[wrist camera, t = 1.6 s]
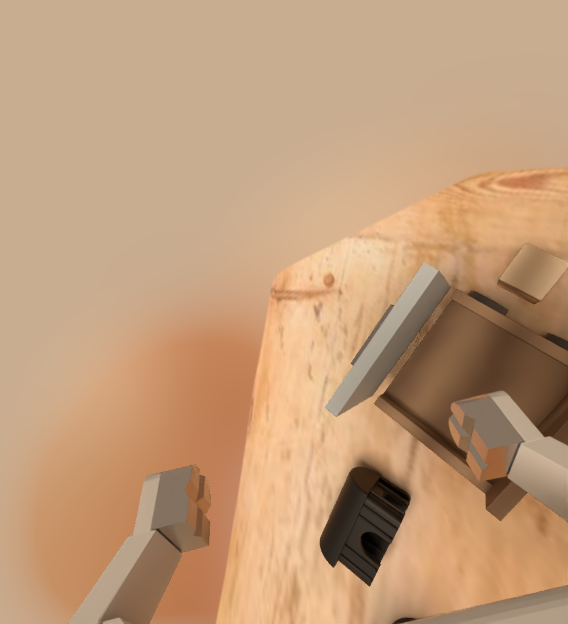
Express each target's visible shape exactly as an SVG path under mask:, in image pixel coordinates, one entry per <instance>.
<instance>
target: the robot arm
mask: <svg viewBox="0 0 568 624" xmlns="http://www.w3.org/2000/svg"><path fill="white" fill-rule="evenodd" d="M451 411H452V412H453V415H452V416H451V417H450V418H449V428H450V432H451V435H452V437H453V439H454V441H455V443H456V444H457V446H458V448H460V449H462V450H463V451H465V452H467V459H466V461H467V463H468V465H469V466H470V468H471V470H472V471H473V473H474V475H475V476H476V478H477V480H478V481H479V482H481V481H486V480H491V479H495V478H500V477H505V476H508V477H507V478H509V479H510V480H511V481H513V482H514V483H515V484H517V485H518V486H519V487H521V488H522V489H524V490H525V491H526V492H528V493H529V494H530V495H532V496H533V497H534V498H536V499H537V500H539V501H540V502H541V503H543V504H544V505H545V506H547V507H548V508H549V509H551V510H552V511H554V512H555V513H556V514H558V515H559V516H560V517H562V518H563V519H564V520H566V521H567V522H568V446H567V445H566V444H564V443H562V442H560V441H558V440H556V439H554V438H552V437H550V436H548V437H544V436H543V435H542V434H541V433H540V431H539V430H538V429H537V428H536V427H535V425H534V424H533V423H532V422H531V421H530V420H529V418H528V417H527V416H526V415H525V414H524V413H523V411H522V410H521V409H520V408H519V407H518V405H517V404H516V403H515V402H514V401H513V400H512V398H511V397H510V396H509V395H508V394H507V393H506V392H504V391H496V392H492V393H488V394H483V395H479V396H475V397H472V398H468V399H464V400H460V401H456V402H453V403H452V404H451ZM210 506H211V494H210V486H209V483H208V481H207V479H206V477H205V476H202V475H200V469H199V468H198V467H197V465H196V464H195V465H190V466H186V467H182V468H178V469H174V470H170V471H165V472H160V473H156V474H152V475H148V476H147V477H146V479H145V481H144V483H143V489H142V493H141V498H140V503H139V508H138V513H137V518H136V523H135V528H134V533H133V535H131V536H128V537H127V539H126V540H125V542H124V543H123V545H122V546H121V548H120V549H119V551H118V552H117V553H116V555H115V556H114V558H113V559H112V561H111V562H110V564H109V565H108V566H107V568H106V569H105V571H104V572H103V574H102V575H101V577H100V578H99V580H98V581H97V583H96V584H95V585H94V587H93V588H92V590H91V591H90V593H89V594H88V596H87V597H86V599H85V600H84V601H83V603H82V604H81V606H80V607H79V609H78V610H77V612H76V613H75V615H74V616H73V617H72V619H71V620H70V622H69V623H68V624H149V623H150V621H151V619H152V617H153V615H154V613H155V611H156V608H157V606H158V604H159V602H160V600H161V598H162V596H163V594H164V592H165V590H166V588H167V586H168V584H169V582H170V580H171V577H172V575H173V573H174V571H175V569H176V567H177V565H178V563H179V561H180V559H181V557H182V553H183V552H187V551H190V550H194V549H198V548H201V547H205V546H209V535H210V521H209V519H208V518H207V516H206V513H207V511H208V510H209V508H210ZM401 624H568V585H566V586H562V587H557V588H553V589H549V590H544V591H540V592H536V593H531V594H527V595H523V596H518V597H514V598H509V599H505V600H501V601H496V602H492V603H488V604H483V605H479V606H475V607H470V608H466V609H462V610H457V611H453V612H449V613H444V614H440V615H435V616H431V617H427V618H422V619H418V620H414V621H409V622H405V623H401Z"/></svg>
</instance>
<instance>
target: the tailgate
mask: <svg viewBox="0 0 568 624" xmlns="http://www.w3.org/2000/svg"><path fill="white" fill-rule="evenodd" d="M450 288H451V287H450V285H449V284H448V283H447V281H446V280H445V278H444V277H443V276H442V274H441V273H440V271H439V270H437V269H435V268H434V267H432V266H430V265H428V264H426V263H423V265H422V266H421V268H420V269H419V271H418V272H417V274H416V275H415V276H414V278H413V279H412V281H411V282H410V284H409V285H408V287H407V288H406V290H405V291H404V293H403V294H402V295H401V297H400V298H399V300H398V301H397V303H396V304H395V306H394V305H390V306H389V308H388V309H387V311H386V312H385V314H384V315H383V317H382V318H381V320H380V321H379V323H378V324H377V326H376V327H375V328H374V330H373V331H372V333H371V334H370V336H369V337H368V339H367V340H366V342H365V343H364V345H363V346H362V348H361V349H360V351H359V352H358V353H357V355H356V356H355V358H354V359H353V361H352V362H351V364H352V365H353V367H352V369H351V370H350V371H349V373H348V374H347V376H346V377H345V379H344V380H343V382H342V383H341V385H340V386H339V387H338V389H337V390H336V392H335V393H334V395H333V396H332V398H331V399H330V401H329V402H328V404H327V405H326V406H325V408H326V409H327V410H328V411H330V412H331V413H332V414H333V415H334V416H335V417H337V416H339V415H341V414H342V413H344V412H346V411H347V410H349V409H351V408H352V407H354V406H356V405H357V404H359V403H361V402H363V401H364V400H366V399H368V398H369V397H371V396H373V394H374V393H375V392H376V390H377V389H378V387H379V386H380V385H381V383H382V382H383V381H384V379H385V378H386V376H387V375H388V374H389V372H390V371H391V369H392V368H393V367H394V365H395V364H396V363H397V361H398V360H399V358H400V357H401V356H402V354H403V353H404V351H405V350H406V349H407V347H408V346H409V344H410V343H411V342H412V340H413V339H414V338H415V336H416V335H417V333H418V332H419V331H420V329H421V328H422V326H423V325H424V324H425V322H426V321H427V319H428V318H429V317H430V315H431V314H432V313H433V311H434V310H435V308H436V307H437V306H438V304H439V303H440V301H441V300H442V299H443V297H444V296H445V294H446V293H447V292H448V290H449V289H450Z"/></svg>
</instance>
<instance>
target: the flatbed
mask: <svg viewBox="0 0 568 624" xmlns="http://www.w3.org/2000/svg"><path fill="white" fill-rule="evenodd" d="M451 299H452V301H451V302H450V303H449V305H448V306H447V307H446V309H445V310H444V312H443V313H442V314H441V316H440V317H439V318H438V320H437V321H436V322H435V324H434V325H433V327H432V328H431V329H430V331H429V332H428V333H427V335H426V336H425V338H424V339H423V340H422V342H421V343H420V344H419V346H418V347H417V349H416V350H415V351H414V353H413V354H412V355H411V357H410V358H409V360H408V361H407V362H406V364H405V365H404V366H403V368H402V369H401V371H400V372H399V373H398V375H397V376H396V377H395V379H394V380H393V381H392V383H391V384H390V386H389V387H388V388H387V390H386V391H385V392H384V394H382V395H380V396H379V397H378V399H377V400H376V401H375V403H374V404H375V405H376V406H377V407H378V408H380V409H381V410H382V411H383V412H385V413H386V414H387V415H388V416H390V417H391V418H392V419H393V420H395V421H396V422H397V423H398V424H400V425H401V426H402V427H403V428H404V429H406V430H407V431H408V432H409V433H411V434H412V435H413V436H414V437H416V438H417V439H418V440H419V441H421V442H422V443H423V444H424V445H426V446H427V447H428V448H429V449H430V450H432V451H433V452H434V453H435V454H437V455H438V456H439V457H440V458H442V459H443V460H444V461H445V462H447V463H448V464H449V465H450V466H452V467H453V468H454V469H455V470H456V471H458V472H459V473H460V474H461V475H463V476H464V477H465V478H466V479H468V480H469V481H470V482H471V483H473V484H474V485H475V486H476V487H477V488H479V489H480V490H481V491H482V492H484V493H485V494H486V510H487V511H489V512H490V513H491V514H492V515H494V516H495V517H496V518H497V519H498V520H500V521H501V520H502V519H503V518H504V517H505V516H506V515H507V514H508V513H509V512H510V511H511V510H512V509H513V508H514V506H515V505H516V504H517V503H518V502H519V501H520V500H521V499H522V498H523V497H524V496H525V495H526V494H527V493H528V492H526V491H525V490H524V489H522V488H521V487H519V486H518V485H517V484H515V483H514V482H513V481H511V480H510V479H509V478H507V477H508V476H505V477H500V478H495V479H491V480H486V481H481V482H479V481H478V480H477V478H476V476H475V475H474V473H473V471H472V470H471V468H470V466H469V465H468V463H467V461H466V459H467V452H465V451H463V450H462V449H460V448H458V446H457V444H456V443H455V441H454V439H453V437H452V435H451V432H450V428H449V418H450V417H451V416H452V415H453V412H452V411H451V404H452V403H453V402H456V401H460V400H464V399H468V398H472V397H475V396H479V395H483V394H488V393H492V392H496V391H504V392H506V393H507V394H508V395H509V396H510V397H511V398H512V400H513V401H514V402H515V403H516V404H517V405H518V407H519V408H520V409H521V410H522V411H523V413H524V414H525V415H526V416H527V417H528V418H529V420H530V421H531V422H532V423H533V424H534V425H535V427H536V428H537V429H538V430H539V431H540V433H541V434H542V435H543V436H544V437H548V436H550V437H552V438H554V439H556V440H558V441H560V442H562V443H564V444H566V445H567V446H568V342H567V341H565V340H563V339H561V338H559V337H557V336H555V335H553V334H550V333H548V334H547V335H546V336H545V337H544V338H543V337H542V336H540V335H538V334H536V333H534V332H533V331H531V330H529V329H527V328H525V327H524V326H522V325H520V324H518V323H516V322H515V321H513V320H511V319H509V318H507V317H506V316H504V315H505V314H506V313H507V311H508V310H507V309H506V308H504V307H503V306H501V305H499V304H498V303H496V302H494V301H492V300H491V299H489V298H487V297H485V296H483V295H481V294H479V293H477V292H475V291H472V290H471V292H470V293H469V295H466V294H464V293H463V292H461V291H459V290H456V291H455V293H454V294H453V295H452V297H451Z"/></svg>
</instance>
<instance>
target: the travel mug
mask: <svg viewBox="0 0 568 624" xmlns="http://www.w3.org/2000/svg"><path fill="white" fill-rule="evenodd" d="M414 620H416V619H412V618H402V619H399V620H397V621H396V622H395V623H393V624H401V623H405V622H409V621H414Z"/></svg>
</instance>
